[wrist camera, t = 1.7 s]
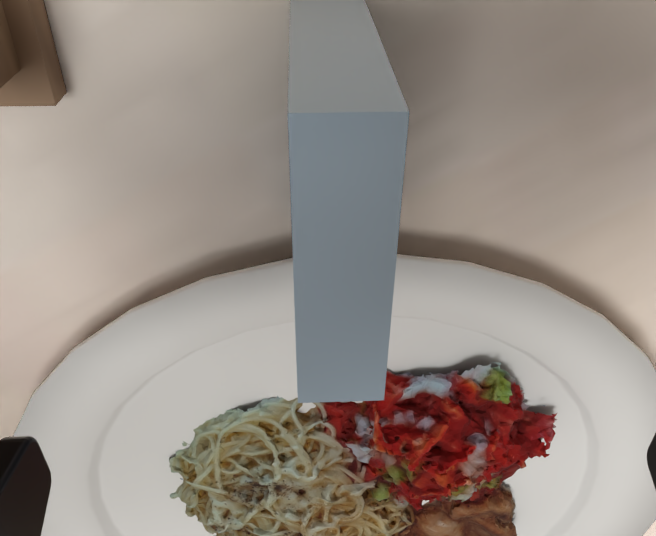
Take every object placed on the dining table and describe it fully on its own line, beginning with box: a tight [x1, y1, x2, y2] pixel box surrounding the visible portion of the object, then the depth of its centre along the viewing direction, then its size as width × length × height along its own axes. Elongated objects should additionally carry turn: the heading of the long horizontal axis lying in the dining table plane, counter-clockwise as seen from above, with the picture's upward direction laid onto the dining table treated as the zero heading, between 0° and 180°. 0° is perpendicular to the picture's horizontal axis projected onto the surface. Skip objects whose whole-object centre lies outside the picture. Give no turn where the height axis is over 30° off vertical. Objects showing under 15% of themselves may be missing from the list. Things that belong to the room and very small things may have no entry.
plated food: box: [13, 254, 656, 536], centre depth 29 cm, size 30×30×3 cm
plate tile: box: [288, 0, 409, 403], centre depth 15 cm, size 7×2×8 cm, turn 0°
